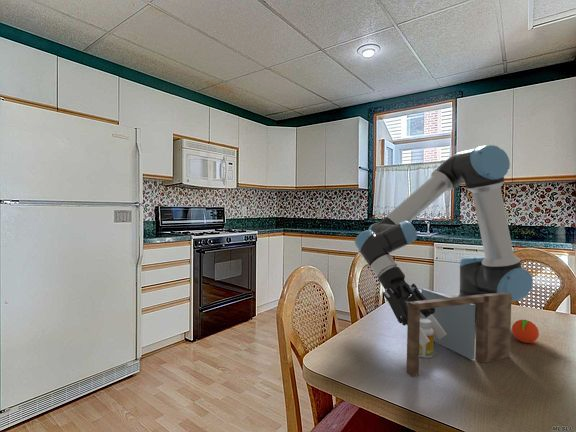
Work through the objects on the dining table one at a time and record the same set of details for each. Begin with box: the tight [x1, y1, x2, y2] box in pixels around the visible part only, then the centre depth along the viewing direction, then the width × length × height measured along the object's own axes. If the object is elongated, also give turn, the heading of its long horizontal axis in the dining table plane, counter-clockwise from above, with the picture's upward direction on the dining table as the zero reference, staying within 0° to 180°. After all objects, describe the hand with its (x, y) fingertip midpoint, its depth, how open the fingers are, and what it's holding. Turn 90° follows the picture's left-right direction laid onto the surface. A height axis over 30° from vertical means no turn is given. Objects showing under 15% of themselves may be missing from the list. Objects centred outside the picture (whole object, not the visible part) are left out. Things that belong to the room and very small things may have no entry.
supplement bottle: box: [419, 318, 435, 359], centre depth 93 cm, size 5×5×10 cm
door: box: [420, 288, 476, 360], centre depth 98 cm, size 19×3×15 cm, turn 20°
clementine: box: [511, 319, 540, 344], centre depth 102 cm, size 8×7×7 cm
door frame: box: [405, 292, 512, 378], centre depth 87 cm, size 34×2×18 cm, turn 110°
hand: (434, 340), depth 90 cm, fingers open, 8 cm apart
